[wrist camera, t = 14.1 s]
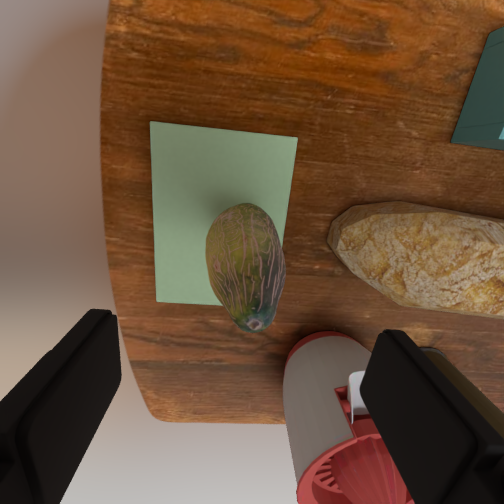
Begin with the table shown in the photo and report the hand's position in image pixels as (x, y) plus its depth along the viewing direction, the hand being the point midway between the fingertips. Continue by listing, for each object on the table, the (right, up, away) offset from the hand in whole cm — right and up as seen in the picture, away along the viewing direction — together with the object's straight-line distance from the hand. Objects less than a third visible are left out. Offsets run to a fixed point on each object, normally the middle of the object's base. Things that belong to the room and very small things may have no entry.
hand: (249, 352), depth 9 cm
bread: (+28, +4, +26) cm, 38 cm away
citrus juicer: (+11, -13, +31) cm, 36 cm away
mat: (-4, +7, +23) cm, 24 cm away
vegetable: (-1, +8, +22) cm, 23 cm away
